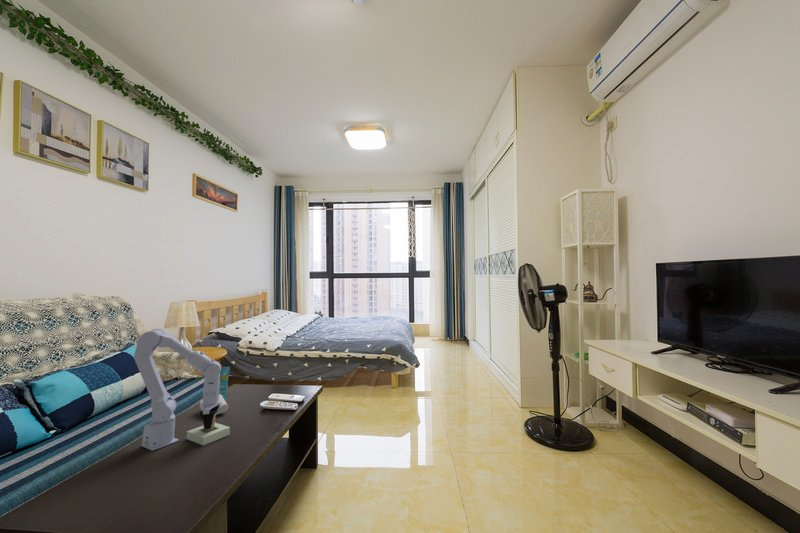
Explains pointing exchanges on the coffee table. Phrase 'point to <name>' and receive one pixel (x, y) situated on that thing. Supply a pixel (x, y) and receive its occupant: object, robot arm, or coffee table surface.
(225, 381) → the tube
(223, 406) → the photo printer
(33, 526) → the coffee table surface
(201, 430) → the socket
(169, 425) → the robot arm
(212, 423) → the peg
